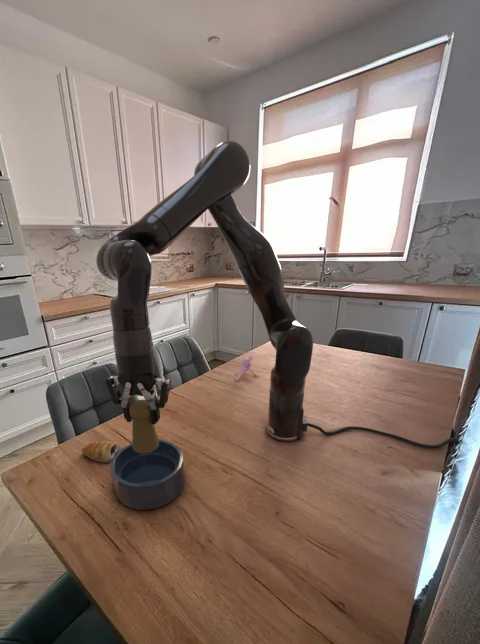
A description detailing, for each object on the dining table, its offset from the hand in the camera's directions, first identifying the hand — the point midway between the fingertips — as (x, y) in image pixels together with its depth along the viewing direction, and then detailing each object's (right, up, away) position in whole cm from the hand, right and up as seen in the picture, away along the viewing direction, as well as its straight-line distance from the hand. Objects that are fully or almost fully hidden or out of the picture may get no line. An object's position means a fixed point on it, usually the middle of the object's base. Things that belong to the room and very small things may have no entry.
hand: (142, 421), depth 68 cm
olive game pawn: (0, -6, +3) cm, 7 cm away
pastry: (-14, -13, +18) cm, 26 cm away
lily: (+39, +10, +62) cm, 74 cm away
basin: (+1, -16, +7) cm, 18 cm away
